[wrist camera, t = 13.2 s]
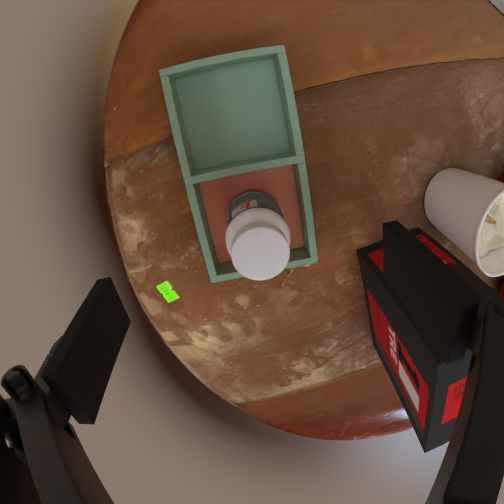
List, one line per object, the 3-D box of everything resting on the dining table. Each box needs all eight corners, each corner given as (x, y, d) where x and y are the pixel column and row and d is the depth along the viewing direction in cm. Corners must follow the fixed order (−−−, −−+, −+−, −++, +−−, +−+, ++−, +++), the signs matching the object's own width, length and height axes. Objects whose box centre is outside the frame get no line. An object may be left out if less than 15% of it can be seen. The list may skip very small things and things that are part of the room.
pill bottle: (216, 205, 34) (209, 242, 25) (263, 178, 33) (274, 206, 24) (244, 247, 36) (247, 296, 27) (289, 222, 35) (308, 265, 26)
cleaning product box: (424, 323, 44) (488, 418, 26) (373, 344, 45) (424, 453, 26) (418, 227, 37) (521, 317, 19) (356, 250, 38) (438, 364, 20)
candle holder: (479, 215, 37) (536, 251, 26) (427, 246, 38) (479, 293, 27) (466, 150, 33) (531, 173, 22) (409, 179, 34) (470, 212, 23)
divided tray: (166, 73, 28) (158, 69, 25) (279, 50, 28) (284, 44, 25) (213, 267, 38) (211, 283, 35) (311, 248, 37) (318, 262, 34)
